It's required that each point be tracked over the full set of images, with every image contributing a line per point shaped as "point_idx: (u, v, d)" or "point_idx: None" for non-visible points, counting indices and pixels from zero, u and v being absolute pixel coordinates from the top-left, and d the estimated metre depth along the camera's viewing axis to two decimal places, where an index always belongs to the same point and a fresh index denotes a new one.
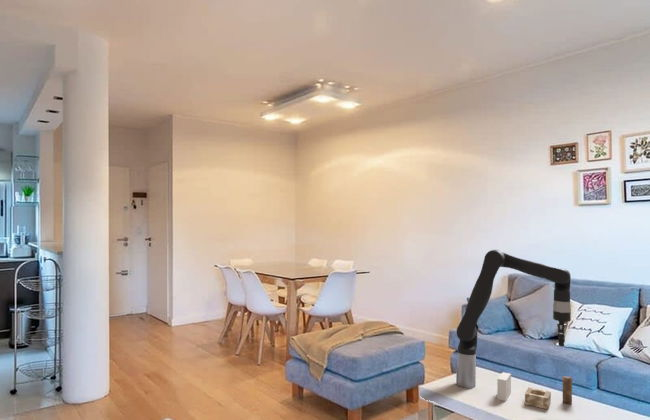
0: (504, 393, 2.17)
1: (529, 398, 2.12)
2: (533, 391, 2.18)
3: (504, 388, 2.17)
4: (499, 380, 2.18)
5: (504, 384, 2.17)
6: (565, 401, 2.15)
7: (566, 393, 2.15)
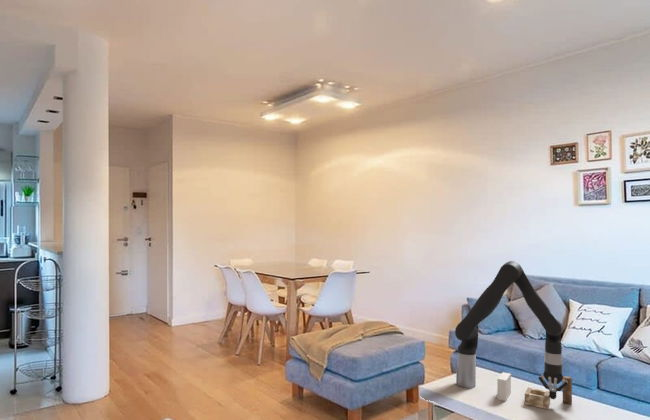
0: (504, 393, 2.17)
1: (529, 398, 2.12)
2: (533, 391, 2.18)
3: (504, 388, 2.17)
4: (499, 380, 2.18)
5: (504, 384, 2.17)
6: (565, 401, 2.15)
7: (566, 393, 2.15)
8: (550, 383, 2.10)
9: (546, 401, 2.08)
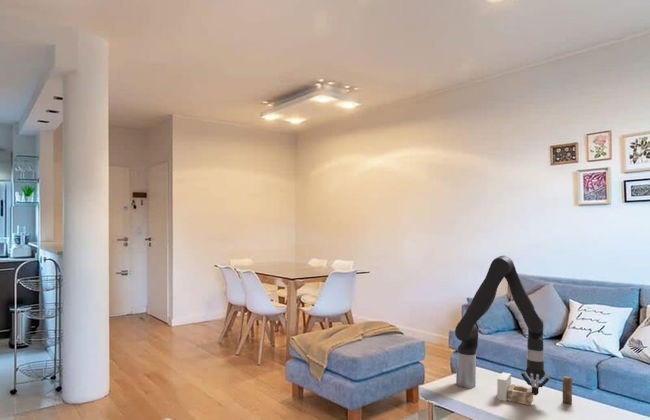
0: (504, 393, 2.17)
1: (512, 394, 2.16)
2: (516, 388, 2.22)
3: (504, 388, 2.17)
4: (499, 380, 2.18)
5: (504, 384, 2.17)
6: (565, 401, 2.15)
7: (566, 393, 2.15)
8: (532, 379, 2.14)
9: (528, 397, 2.12)
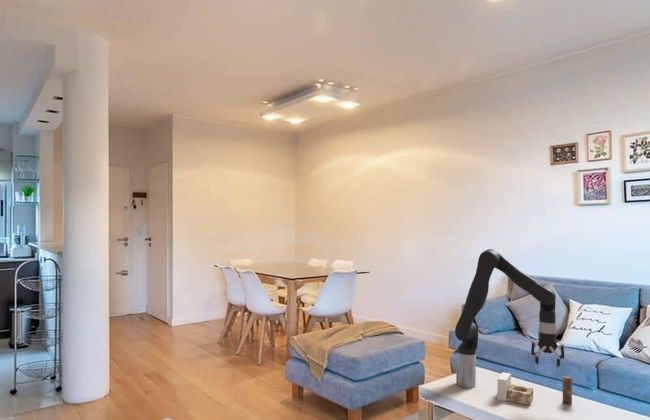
0: (504, 393, 2.17)
1: (512, 394, 2.16)
2: (516, 388, 2.22)
3: (504, 388, 2.17)
4: (499, 380, 2.18)
5: (504, 384, 2.17)
6: (565, 401, 2.15)
7: (566, 393, 2.15)
8: (541, 351, 2.13)
9: (528, 397, 2.12)
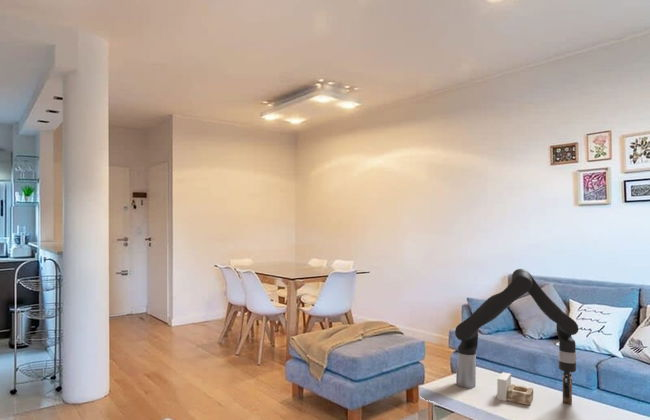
0: (504, 393, 2.17)
1: (512, 394, 2.16)
2: (516, 388, 2.22)
3: (504, 388, 2.17)
4: (499, 380, 2.18)
5: (504, 384, 2.17)
6: (565, 401, 2.15)
7: None
8: (570, 382, 2.14)
9: (528, 397, 2.12)
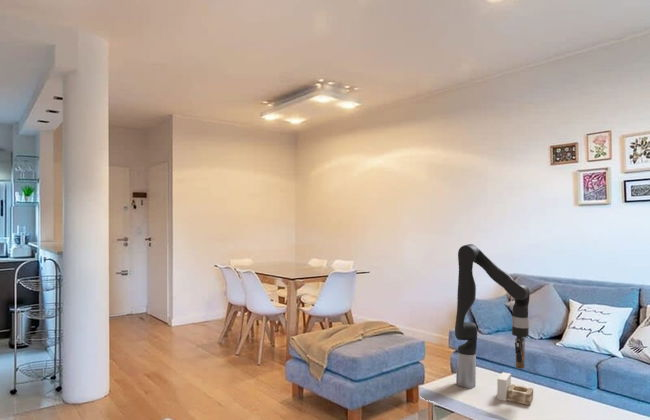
0: (504, 393, 2.17)
1: (512, 394, 2.16)
2: (516, 388, 2.22)
3: (504, 388, 2.17)
4: (499, 380, 2.18)
5: (504, 384, 2.17)
6: (518, 366, 2.18)
7: None
8: None
9: (528, 397, 2.12)
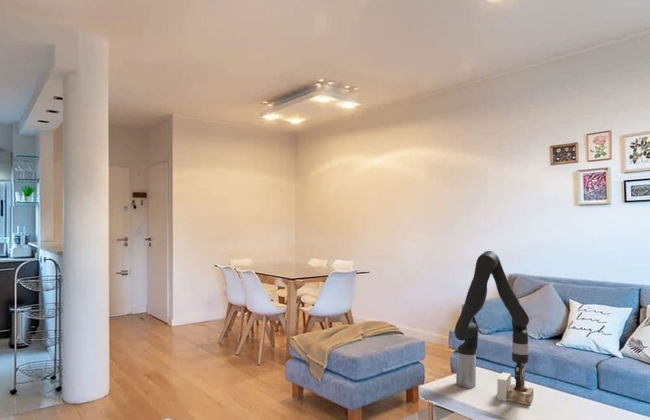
0: (504, 393, 2.17)
1: (512, 394, 2.16)
2: None
3: (504, 388, 2.17)
4: (499, 380, 2.18)
5: (504, 384, 2.17)
6: None
7: (519, 388, 2.17)
8: (522, 373, 2.16)
9: (528, 397, 2.12)
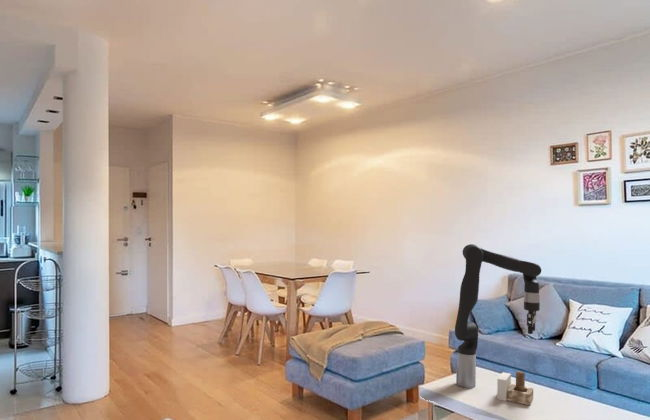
0: (504, 393, 2.17)
1: (512, 394, 2.16)
2: None
3: (504, 388, 2.17)
4: (499, 380, 2.18)
5: (504, 384, 2.17)
6: None
7: (519, 388, 2.17)
8: (534, 320, 2.29)
9: (528, 397, 2.12)
